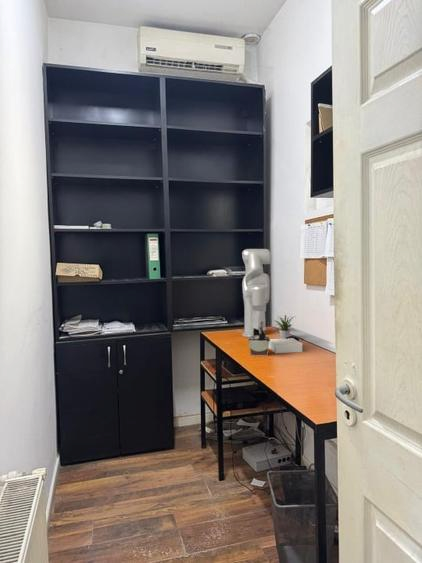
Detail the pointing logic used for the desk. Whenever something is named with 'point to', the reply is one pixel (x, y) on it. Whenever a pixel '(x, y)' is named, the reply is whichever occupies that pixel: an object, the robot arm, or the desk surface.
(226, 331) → the desk surface
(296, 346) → the base block
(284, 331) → the house plant
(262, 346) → the food container
